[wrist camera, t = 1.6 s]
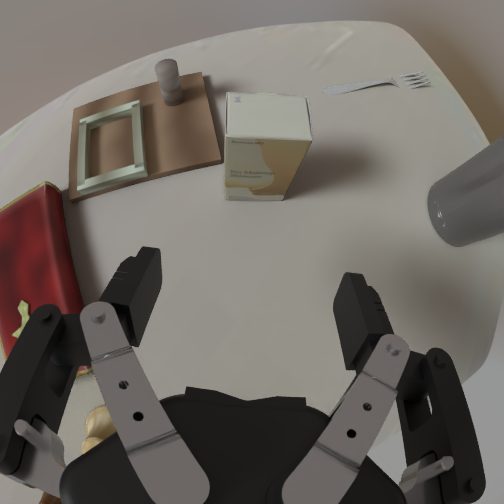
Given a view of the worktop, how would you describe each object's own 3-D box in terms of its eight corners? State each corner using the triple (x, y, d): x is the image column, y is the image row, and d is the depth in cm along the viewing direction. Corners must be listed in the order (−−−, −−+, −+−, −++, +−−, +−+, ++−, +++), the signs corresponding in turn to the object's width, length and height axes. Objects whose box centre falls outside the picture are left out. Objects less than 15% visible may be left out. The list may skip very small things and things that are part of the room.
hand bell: (106, 469, 24) (43, 542, 8) (76, 409, 25) (-13, 459, 9) (166, 462, 25) (125, 556, 9) (135, 398, 26) (58, 465, 10)
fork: (297, 89, 34) (299, 81, 32) (417, 75, 37) (421, 69, 35) (308, 107, 34) (311, 99, 32) (427, 89, 37) (432, 83, 35)
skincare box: (224, 201, 30) (219, 137, 18) (224, 164, 31) (221, 90, 19) (286, 202, 31) (315, 140, 19) (283, 165, 31) (308, 94, 19)
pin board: (202, 76, 33) (198, 38, 26) (221, 163, 31) (219, 127, 24) (76, 112, 32) (55, 82, 25) (72, 203, 29) (41, 180, 22)
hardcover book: (63, 192, 30) (46, 178, 26) (107, 365, 27) (90, 372, 23) (0, 228, 28) (-19, 220, 24) (34, 385, 25) (14, 391, 21)
